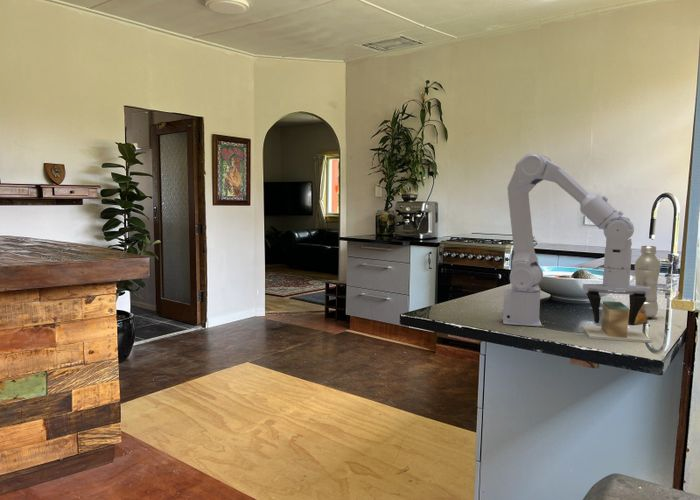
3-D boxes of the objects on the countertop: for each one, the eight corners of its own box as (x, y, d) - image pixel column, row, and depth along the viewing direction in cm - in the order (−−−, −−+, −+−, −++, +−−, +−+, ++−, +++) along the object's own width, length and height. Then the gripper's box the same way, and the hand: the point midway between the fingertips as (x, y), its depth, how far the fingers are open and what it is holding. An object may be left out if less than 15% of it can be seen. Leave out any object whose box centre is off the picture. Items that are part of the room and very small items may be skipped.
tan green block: (608, 336, 122) (609, 307, 121) (601, 328, 129) (602, 300, 129) (626, 337, 121) (628, 308, 120) (618, 329, 128) (620, 301, 128)
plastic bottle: (653, 315, 148) (658, 245, 146) (660, 320, 141) (665, 247, 139) (628, 313, 149) (632, 245, 147) (634, 319, 143) (639, 247, 141)
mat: (590, 338, 122) (590, 335, 122) (582, 327, 133) (582, 325, 133) (651, 342, 119) (651, 340, 119) (638, 331, 129) (638, 328, 129)
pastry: (634, 318, 144) (635, 305, 144) (654, 324, 138) (655, 310, 137) (606, 320, 142) (607, 306, 142) (625, 326, 135) (626, 312, 135)
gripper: (587, 268, 122) (584, 324, 123) (656, 271, 118) (652, 329, 120) (582, 264, 129) (579, 318, 130) (646, 267, 125) (643, 322, 126)
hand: (613, 323), depth 125 cm, fingers open, 7 cm apart
